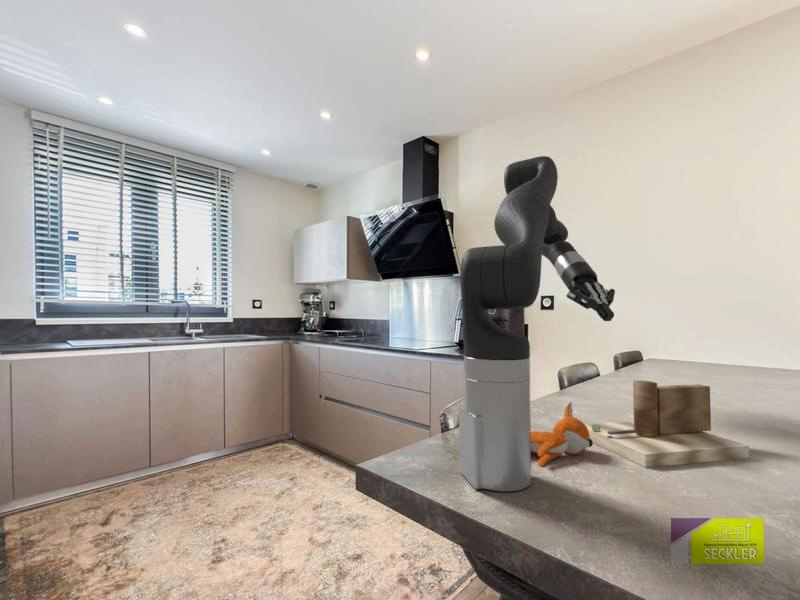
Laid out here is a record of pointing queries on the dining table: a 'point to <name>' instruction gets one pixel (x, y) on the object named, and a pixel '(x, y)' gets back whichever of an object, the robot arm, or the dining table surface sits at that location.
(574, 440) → the toy
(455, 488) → the dining table surface
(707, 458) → the light wood flat board
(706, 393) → the brown piece
